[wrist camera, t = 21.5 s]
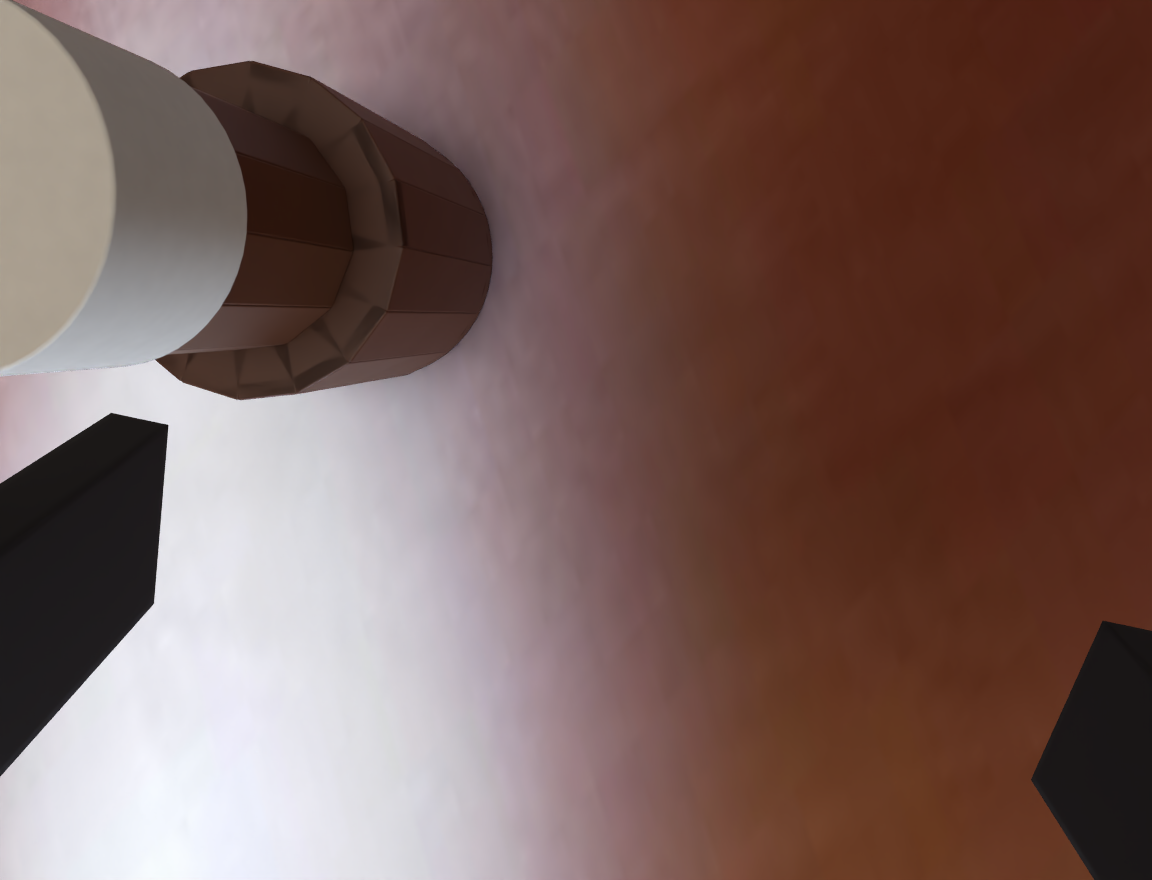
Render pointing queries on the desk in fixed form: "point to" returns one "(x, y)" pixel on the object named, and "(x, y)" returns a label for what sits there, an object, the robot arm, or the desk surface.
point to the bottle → (334, 244)
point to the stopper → (106, 202)
